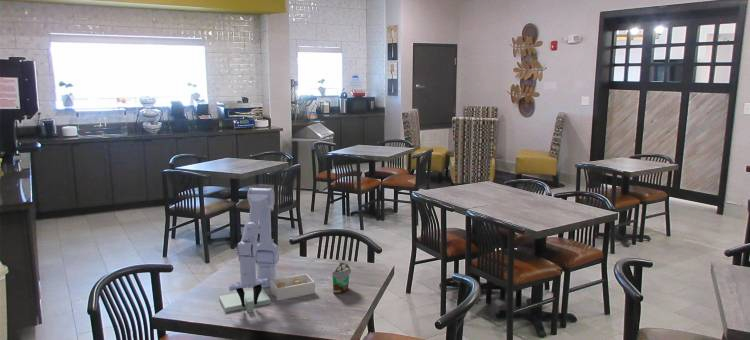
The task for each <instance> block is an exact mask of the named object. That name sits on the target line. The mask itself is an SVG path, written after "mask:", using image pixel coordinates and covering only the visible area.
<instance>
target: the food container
mask: <svg viewBox="0 0 750 340" xmlns="http://www.w3.org/2000/svg"><path fill="white" fill-rule="evenodd" d="M351 273H352V269H351V266H350V265H349V264H348V263H345V262H339V265H338V267H336V269H335V271H332V273H331V274H332V288H333V289H332V290H333V291H332V292H333V295H341V294H344V293H347V292H348V291H349V284H350V282H349V281H350V274H351Z"/></svg>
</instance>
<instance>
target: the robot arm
mask: <svg viewBox="0 0 750 340" xmlns="http://www.w3.org/2000/svg"><path fill="white" fill-rule="evenodd" d="M246 197H247V201H248V205H249V206H250V209H249V215H248V221H247V223H245V224H244V226H243V232H242V236H241V239H240V242H238V243H237V247H236V255H237V258H238V261H239V270H240V271H239V274H240V281H238V282H235V283H230V284H228V290H229V292H233V291H236V293H238V295H239V297H240V300H241V303H242V306H243V307H245V302H244V294H245V290H244V289H251V288H252V290H253V293H254V304H255V305H257V300H258V297H259V294H260V292H261V290H262V288H263V289H265V288H270V280H273V279H277V275H276V272H277V271H276V265H277V264H278V263H279V261H280V251H279V246H278V244H276V243H274V242H273V241H272V220H271V219H272V215H271V211H272V209H271V208H272V206H275V200H276V199H275V198H276V197H275V190H274V189H273V188H272V187H270V188H268V187H266V188H265V187H262V188H261V187H249V189H248V190H247V195H246ZM258 223H259V225H258ZM258 236H259V242H258V241H257V240H258ZM256 271H257V272H256Z"/></svg>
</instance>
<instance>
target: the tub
mask: <svg viewBox="0 0 750 340" xmlns="http://www.w3.org/2000/svg"><path fill="white" fill-rule="evenodd" d="M269 288H270V291H269V292H270V294H272V296H273V297H274V298H275V300H276V301H283V300H288V299H294V298H298V297H303V296H308V295H313V294H316V282H315V281H314V280H313V278H312V277H310V276H309V274H308V273H302V274H297V275H290V276H285V277H280V278H276V279H273V280H270V287H269Z"/></svg>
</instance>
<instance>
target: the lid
mask: <svg viewBox="0 0 750 340" xmlns="http://www.w3.org/2000/svg"><path fill="white" fill-rule="evenodd" d="M244 292H245V294H244V302H245V307H243V306H242V303H241V300H240V297H239V295H238V293H237V292H235V293H229V294H224V295H219V298H218V300H219V302H220V304H221V306H222V308H223V310H224V312H225V313H228V312H234V311H238V310H239V311H240V310H244V309H246V312H247V313H251V312H252V313H253V312H254V310H255V309H254V308H255V307H260V306H265V305H270V304H271V298H270V297H269V295H268V294H267V292H266V291H265V289H264V288H262V290H261V292H260V294H259V297H258V300H257V305H255V304H254V293H253V289H251V290H244Z"/></svg>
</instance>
